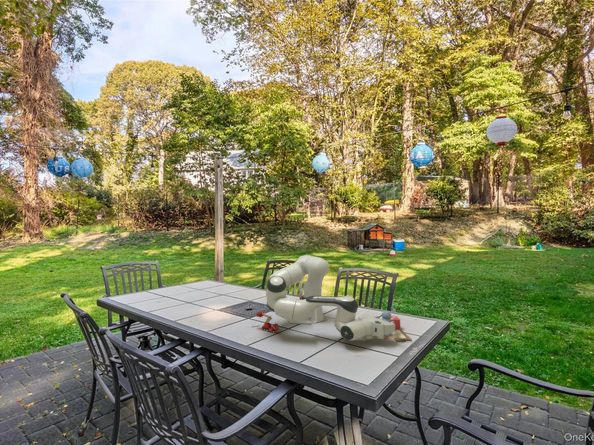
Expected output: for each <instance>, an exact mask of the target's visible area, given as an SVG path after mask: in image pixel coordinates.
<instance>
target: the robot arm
mask: <svg viewBox="0 0 594 445" xmlns="http://www.w3.org/2000/svg"><path fill="white" fill-rule="evenodd" d="M329 271H330V264H329V261H327V260H325V259H324V258H322V257H319V256H313V255H309V254H305V255H300V256H299V257H298V258H297V260H296V261H295V262H294V263H292V264H290V265H287V266H285V267H283V268H281V269H279V270H277V271H274V272H273V273H272V274H271V275H269V278H268V279H267V282H266V292H265V297H266V306H267V307H268V309H269V311H271V312H273V313H274V314H275V315H276V316H277V317H280V318H282V319H285V320H287V321H288V322H289V323H290V324H298V325H299V324H301V325H303V324H305V325H312V324H318V323H321V322H323V321H325V320H324V319H325V318H324V312H323V307H337V308H336V313H335V314H336V315H335V319H334V327H335V328H336V330H337V331H338V332H339V333H340V336H341V337H342V338H343V339H344V340H346V341H351V342H352V341H357V339H360V340H362V339H361V338H363V337H364V336H369V335H370V336H378V337H383V336H384V335H387V334H390V333H393V332H394V331H395V324H394V321H390V322H387V321H384V320H382V318H381V317H380V316H378V315H377V316H373V315H369V314H362V315H359V316H358V317H357V318H356V316H357V311H358V309H359V303H358V301H357V300H356V298H354V297H353V296H350V295H340V296H337V295H334V296H333V295H322V290H323V289H322V287H323V286H322V285H323V281H324V278H325V276H326V275H327V274H328V273H329ZM306 275H307V280H306V281H304V282H303V296H302V295H299V296H298V299H300V300H297V299H296V298H291V297H290V298H289V297H288V295H287V288H288V287H290V286H293V285H295V284H297V283H299V282H301V281H302V280H303V279H304V278H303V277H305V276H306Z"/></svg>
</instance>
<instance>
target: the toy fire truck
mask: <svg viewBox="0 0 594 445" xmlns="http://www.w3.org/2000/svg"><path fill="white" fill-rule="evenodd" d="M256 317H257V318H263V317H265V318H266V320H265V322H264V324H263V325H262V326H261V330H263V331H264V332H265V331H266V332H267V333H268V332H271V333H273V334H277V333H279V332H280V327H279V326H280V325H279V324H278V323H277V322H275V323H273V324H272V323H270V322H271V320H272V319H273V318H272V316H271V315H268V314H266V313H265V312H264V311H260V312H258V313H256Z"/></svg>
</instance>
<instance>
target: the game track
mask: <svg viewBox="0 0 594 445" xmlns="http://www.w3.org/2000/svg"><path fill="white" fill-rule="evenodd" d="M386 339H387V340H388V339H390V340H391V339H392V340H394V341H395V342H396V343H407V342H406V341H413V340H412V338H411V337H410V336H409V335H408V334H407V333H406V332H405V331H404V330H403V329H401V328H400V330H395V331H394V332H393V333H392V335H391V336H388V337H387V336H383V337H378V336H370V335H369V336H364V337H363V338H361V339H357V340H386ZM357 340H356V341H357Z"/></svg>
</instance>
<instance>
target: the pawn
mask: <svg viewBox="0 0 594 445" xmlns="http://www.w3.org/2000/svg"><path fill="white" fill-rule="evenodd" d="M391 316H392V313H391V312H390V310H389V311H388V310H383V311H382V313H381V317H382V318H381V320H384V321H387V322H390V321H391ZM391 335H392V333H390V334H387V335H384V336H387V337H388V336H391Z"/></svg>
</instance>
